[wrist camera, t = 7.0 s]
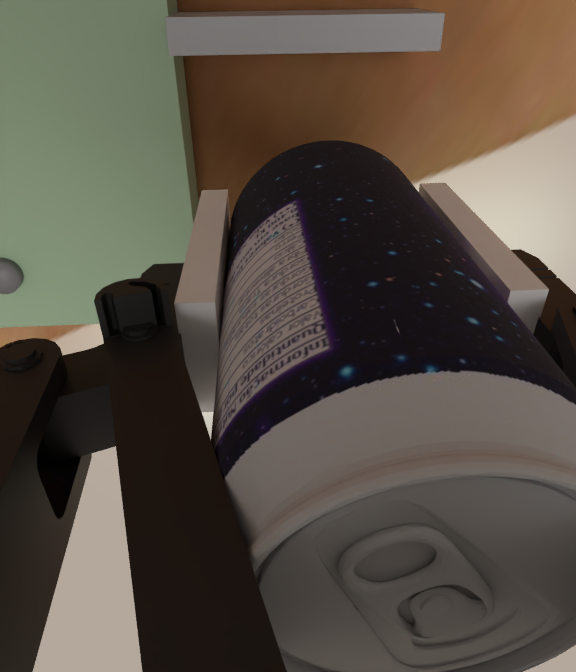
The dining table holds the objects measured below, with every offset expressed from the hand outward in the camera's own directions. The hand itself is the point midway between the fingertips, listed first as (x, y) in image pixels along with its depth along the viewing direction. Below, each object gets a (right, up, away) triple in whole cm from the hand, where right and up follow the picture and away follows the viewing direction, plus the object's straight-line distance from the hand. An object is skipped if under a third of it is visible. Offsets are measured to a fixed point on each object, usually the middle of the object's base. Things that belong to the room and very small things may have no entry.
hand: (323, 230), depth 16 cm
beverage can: (0, 0, +1) cm, 1 cm away
